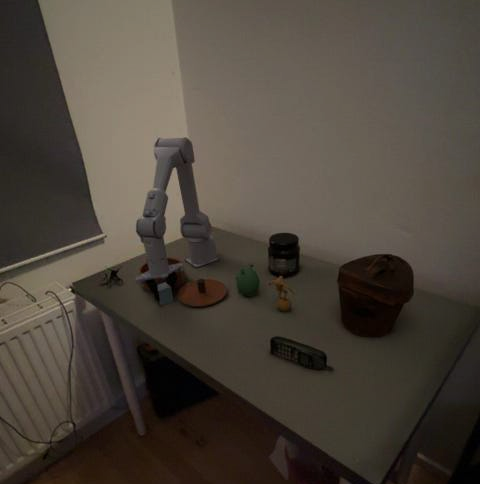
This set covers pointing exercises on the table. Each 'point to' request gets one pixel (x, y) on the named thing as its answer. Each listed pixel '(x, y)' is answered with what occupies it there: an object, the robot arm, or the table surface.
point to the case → (374, 293)
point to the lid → (202, 293)
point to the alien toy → (247, 281)
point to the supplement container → (283, 254)
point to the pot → (179, 281)
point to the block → (165, 293)
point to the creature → (112, 276)
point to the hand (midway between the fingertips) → (164, 297)
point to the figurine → (283, 302)
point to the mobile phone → (299, 353)
